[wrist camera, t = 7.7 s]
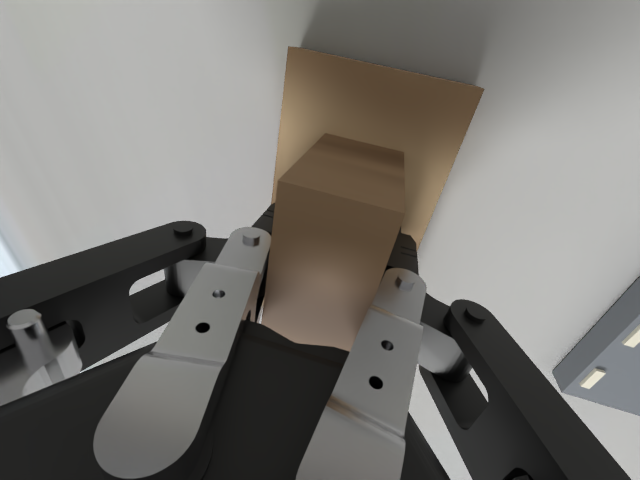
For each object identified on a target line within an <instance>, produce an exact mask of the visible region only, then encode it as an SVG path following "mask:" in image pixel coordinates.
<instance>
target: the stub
mask: <svg viewBox="0 0 640 480" xmlns="http://www.w3.org/2000/svg"><path fill="white" fill-rule="evenodd" d="M483 91H484V89H483V88H480V87H478V86H474V85H469V84H465V83H460V82H455V81H451V80H446V79H442V78H437V77H432V76H428V75H423V74H419V73H414V72H409V71H405V70H400V69H396V68H391V67H386V66H382V65H377V64H372V63H368V62H363V61H359V60H354V59H349V58H345V57H340V56H336V55H331V54H326V53H322V52H317V51H313V50H308V49H303V48H299V47H289V46H288V54H287V63H286V72H285V82H284V91H283V100H282V109H281V119H280V128H279V137H278V147H277V156H276V165H275V174H274V184H273V193H272V202H271V204H273V203H275V209H274V218H273V227H272V235H271V244H270V253H269V261H268V270H267V279H266V288H265V296H264V305H263V314H262V322H261V324H262V325H265V326H266V327H268V328H270V329H272V330H273V331H275V332H277V333H279V334H280V335H282V336H284V337H286V338H287V339H289V340H291V341H293V342H295V343H299V344H310V345H321V346H332V347H336V348H340V349H343V350H346V351H349V352H350V350H351V348H352V346H353V343H354V341H355V339H356V336H357V334H358V332H359V329H360V327H361V325H362V322H363V320H364V318H365V315H366V313H367V311H368V309H369V306H370V304H372V302H373V299H374V297H375V295H376V292H377V290H378V287H379V285H380V282H381V279H382V276H383V274H384V271H385V268H386V265H387V263H388V260H389V257H390V254H391V252H392V249H393V246H394V243H395V241H396V238H397V235H398V233H399V230H400V227H401V233H404V234H407V235H411V237H412V238H413V239H414V241H415V242H416V247H417V250H418V247H419V245H420V242H421V240H422V238H423V235H424V233H425V230H426V228H427V226H428V223H429V221H430V218H431V216H432V214H433V211H434V209H435V206H436V204H437V202H438V199H439V197H440V194H441V192H442V190H443V187H444V185H445V182H446V180H447V178H448V175H449V173H450V170H451V168H452V166H453V163H454V161H455V158H456V156H457V154H458V151H459V149H460V146H461V144H462V142H463V139H464V137H465V134H466V132H467V130H468V127H469V125H470V122H471V120H472V118H473V115H474V113H475V110H476V108H477V106H478V103H479V101H480V98H481V96H482V94H483ZM416 252H417V251H416Z"/></svg>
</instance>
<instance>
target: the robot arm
mask: <svg viewBox="0 0 640 480" xmlns="http://www.w3.org/2000/svg"><path fill="white" fill-rule="evenodd" d="M274 209H275V203H273V204H271V205H270V207H269V208H268V209H267V211H265V212H264V213H263V215H262V216H261V217H260V218H259V219H258V220H257V221H256V222H255V223H254V225H253V226H252V227H244V228H239V229H237V230H235V231H233V232H232V233H231V235H230V237H229V238H228V239H223V238H209V237H206V229H205V228H204V227H203V226H202V225H201V224H198V223H196V222H191V221H177V222H172V223H169V224H166V225H163V226H159V227H156V228H153V229H150V230H147V231H144V232H141V233H138V234H135V235H131V236H128V237H125V238H122V239H119V240H116V241H113V242H110V243H107V244H104V245H100V246H97V247H94V248H91V249H88V250H85V251H82V252H79V253H76V254H72V255H69V256H66V257H63V258H60V259H57V260H54V261H51V262H48V263H45V264H41V265H38V266H35V267H32V268H29V269H26V270H23V271H20V272H17V273H13V274H10V275H7V276H4V277H1V278H0V480H450V478H449V476H448V475H447V473H446V472H445V470H444V468H443V467H442V465H441V464H440V462H439V460H438V459H437V457H436V455H435V454H434V452H433V451H432V449H431V447H430V446H429V444H428V443H427V441H426V439H425V438H424V436H423V434H422V433H421V431H420V430H419V428H418V426H417V425H416V423H415V422H414V420H413V418H412V417H411V415H410V413H409V412H408V410H409V404H410V399H411V393H412V388H413V383H414V377H415V372H416V366H417V364H419V370H420V373H421V375H422V378H423V380H424V382H425V384H426V386H427V388H428V390H429V392H430V394H431V396H432V398H433V400H434V402H435V404H436V406H437V408H438V410H439V412H440V414H441V416H442V418H443V420H444V422H445V424H446V426H447V429H448V431H449V433H450V435H451V437H452V439H453V441H454V443H455V445H456V447H457V449H458V451H459V453H460V455H461V457H462V459H463V461H464V463H465V465H466V467H467V469H468V471H469V473H470V475H471V477H472V479H473V480H631V479H630V477H629V476H628V475H627V474H626V473H625V471H624V470H623V469H622V468H621V467H620V466H619V464H618V463H617V462H616V461H615V460H614V458H613V457H612V456H611V455H610V454H609V452H608V451H607V450H606V449H605V448H604V446H603V445H602V444H601V443H600V442H599V441H598V439H597V438H596V437H595V436H594V435H593V433H592V432H591V431H590V430H589V429H588V427H587V426H586V425H585V424H584V423H583V421H582V420H581V419H580V418H579V417H578V416H577V414H576V413H575V412H574V411H573V410H572V408H571V407H570V406H569V405H568V404H567V402H566V401H565V400H564V399H563V398H562V396H561V395H560V394H559V393H558V392H557V390H556V389H555V388H554V387H553V386H552V385H551V383H550V382H549V381H548V380H547V379H546V377H545V376H544V375H543V374H542V373H541V371H540V370H539V369H538V368H537V367H536V365H535V364H534V363H533V362H532V361H531V360H530V358H529V357H528V356H527V355H526V354H525V352H524V351H523V350H522V349H521V348H520V346H519V345H518V344H517V343H516V342H515V340H514V339H513V338H512V337H511V336H510V334H509V333H508V332H507V331H506V330H505V329H504V327H503V326H502V325H501V324H500V323H499V321H498V320H497V319H496V318H495V317H494V315H493V314H492V313H491V312H489V311H488V310H487V309H486V308H484V307H483V306H481V305H479V304H477V303H475V302H472V301H469V300H462V299H461V300H455V301H454V302H453V303H452V304H451V306H448V305H446V304H444V303H442V302H440V301H438V300H436V299H434V298H433V297H431V296H430V295H429V294H427V293H426V289H427V287H426V284H425V282H424V281H423V279H422V278H421V277H419V275H418V261H417V252H416V251H417V247H416V242H415V241H414V239H413V238H412V237H411V235H407V234H404V233H401V227H400V230H399V233H398V235H397V238H396V241H395V243H394V246H393V249H392V252H391V254H390V257H389V260H388V263H387V265H386V268H385V271H384V274H383V276H382V279H381V282H380V285H379V287H378V290H377V292H376V295H375V297H374V299H373V302H372V304H370V306H369V309H368V311H367V313H366V315H365V318H364V320H363V322H362V325H361V327H360V329H359V332H358V334H357V336H356V339H355V341H354V343H353V346H352V348H351V350H350V352H349V351H346V350H343V349H340V348H336V347H332V346H321V345H310V344H299V343H295V342H293V341H291V340H289V339H287V338H286V337H284V336H282V335H280V334H279V333H277V332H275V331H273V330H272V329H270V328H268V327H266V326H265V325H262V324H259V320H260V316H261V313H262V309H263V305H264V296H265V288H266V279H267V270H268V261H269V253H270V244H271V235H272V227H273V218H274ZM162 269H164V273H165V280H163V281H161V282H159V283H156V284H154V285H152V286H150V287H148V288H145V289H143V290H141V291H139V292H137V293H134V294H132V295H130V296H129V290H130V288H131V286H132V285H133V284H134V283H135V282H136V281H137V280H139V279H141V278H143V277H146V276H148V275H150V274H153V273H155V272H157V271H160V270H162ZM169 321H170V322H169ZM167 322H169V323H168V325H167V327H166V328H165V330H164V332H163V333H162V335H161V337H160V338H159V340H158V341H157V342H155V343H152V344H150V345H147V346H145V347H143V348H140V349H138V350H135V351H133V352H130V353H128V354H126V355H123V356H121V357H118V358H116V359H113V360H111V361H109V362H106V363H104V364H101V365H99V366H96V367H94V368H92V369H89V370H87V371H84V372H82V373H80V372H81V371H82V370H84V369H86V368H88V367H89V366H91V365H93V364H95V363H97V362H98V361H100V360H102V359H104V358H105V357H107V356H109V355H111V354H112V353H114V352H116V351H118V350H120V349H121V348H123V347H125V346H127V345H128V344H130V343H132V342H134V341H135V340H137V339H139V338H141V337H143V336H144V335H146V334H148V333H150V332H151V331H153V330H155V329H157V328H158V327H160V326H162V325H164V324H166V323H167ZM472 368H473V369H474V371H475V372H476V374H477V375H478V377H479V378H480V380H481V382H482V383H483V385H484V386H485V388H486V390H487V393H488V402H487V400H486V399H485V397H484V396H483V394H482V393H481V391H480V389H479V388H478V386H477V385H476V383H475V381H474V380H473V378H472V377H471V375H470V374H469V372H470V370H471V369H472Z"/></svg>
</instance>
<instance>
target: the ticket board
mask: <svg viewBox="0 0 640 480" xmlns="http://www.w3.org/2000/svg"><path fill="white" fill-rule="evenodd" d="M552 373H553V375H554V377H555V379H556V382H557V384H558V386H559V388H560V390H561V392H562V393H565V394H569V395H572V396H575V397H579V398H582V399H585V400H589V401H592V402H595V403H599V404H602V405H605V406H608V407H612V408H615V409H618V410H622V411H625V412H628V413H632V414H635V415H638V416H640V277H639V278H638V279H637V280H636V281H635V282H634V283H633V284H632V286H631V287H630V288H629V289H628V290H627V291H626V292H625V293H624V294H623V295H622V296H621V297H620V299H619V300H618V301H617V302H616V303H615V304H614V305H613V306H612V307H611V308H610V309H609V311H608V312H607V313H606V314H605V315H604V316H603V317H602V318H601V319H600V320H599V321H598V322H597V324H596V325H595V326H594V327H593V328H592V329H591V330H590V331H589V332H588V333H587V334H586V335H585V337H584V338H583V339H582V340H581V341H580V342H579V343H578V344H577V345H576V346H575V347H574V349H573V350H572V351H571V352H570V353H569V354H568V355H567V356H566V357H565V358H564V359H563V360H562V362H561V363H560V364H559V365H558V366H557V367H556V368H555V369H554V370H553V371H552Z"/></svg>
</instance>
